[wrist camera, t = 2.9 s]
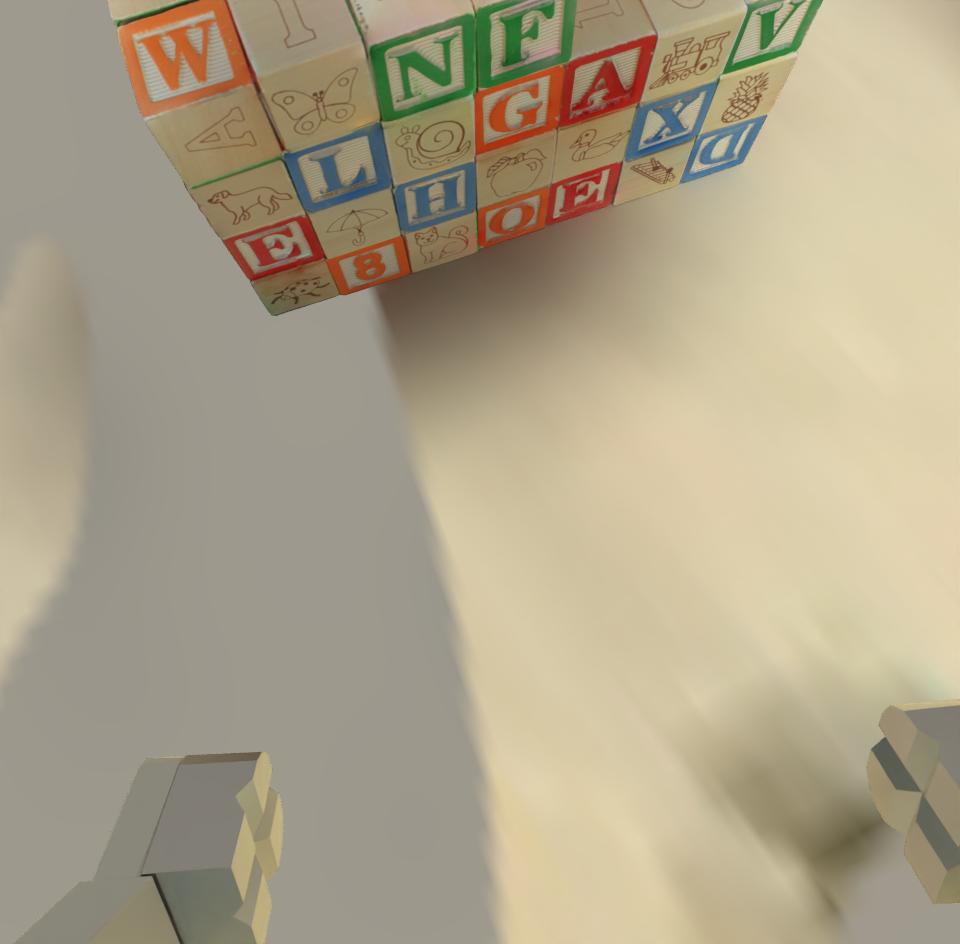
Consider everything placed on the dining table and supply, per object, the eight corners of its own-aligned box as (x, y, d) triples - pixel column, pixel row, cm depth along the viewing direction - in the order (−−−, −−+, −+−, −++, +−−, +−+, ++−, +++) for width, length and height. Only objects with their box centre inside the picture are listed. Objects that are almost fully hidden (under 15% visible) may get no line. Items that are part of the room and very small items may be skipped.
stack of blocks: (686, 53, 34) (793, -273, 22) (744, 167, 33) (892, -116, 21) (229, 196, 33) (80, -71, 21) (269, 322, 31) (133, 113, 19)
